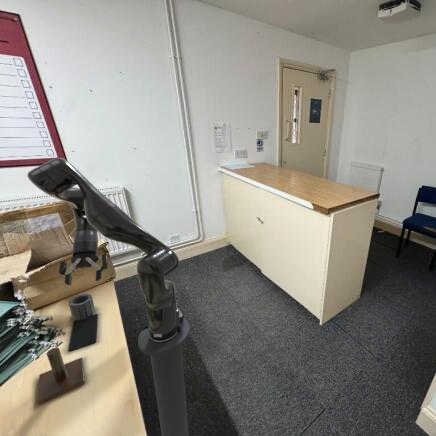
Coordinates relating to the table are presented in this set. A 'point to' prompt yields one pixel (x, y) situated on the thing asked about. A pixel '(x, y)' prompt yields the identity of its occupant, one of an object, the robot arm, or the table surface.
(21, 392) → the table surface
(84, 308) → the grey ribbed hollow cylinder
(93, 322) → the smartphone
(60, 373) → the peg stand
